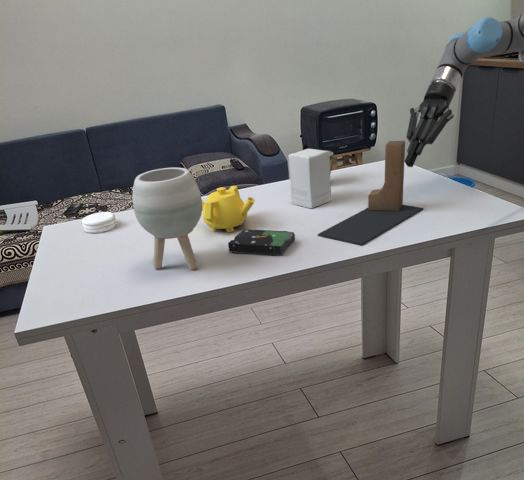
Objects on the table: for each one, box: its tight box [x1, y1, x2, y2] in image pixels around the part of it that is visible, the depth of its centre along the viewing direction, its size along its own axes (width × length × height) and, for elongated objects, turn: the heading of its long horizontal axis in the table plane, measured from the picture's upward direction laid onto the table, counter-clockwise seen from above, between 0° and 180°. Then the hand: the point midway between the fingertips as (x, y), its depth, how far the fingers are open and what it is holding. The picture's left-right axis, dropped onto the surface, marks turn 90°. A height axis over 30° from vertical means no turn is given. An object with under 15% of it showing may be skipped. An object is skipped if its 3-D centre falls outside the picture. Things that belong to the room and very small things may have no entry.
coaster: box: [81, 211, 118, 234], centre depth 165 cm, size 10×10×4 cm
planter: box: [132, 167, 203, 271], centre depth 130 cm, size 16×16×22 cm
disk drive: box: [227, 228, 296, 256], centre depth 139 cm, size 10×3×15 cm
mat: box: [317, 204, 424, 247], centre depth 146 cm, size 14×30×1 cm, turn 137°
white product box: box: [288, 148, 332, 209], centre depth 162 cm, size 9×9×15 cm
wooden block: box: [367, 140, 406, 211], centre depth 148 cm, size 9×4×18 cm, turn 67°
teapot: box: [202, 185, 255, 233], centre depth 152 cm, size 20×18×11 cm
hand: (408, 164), depth 151 cm, fingers closed
